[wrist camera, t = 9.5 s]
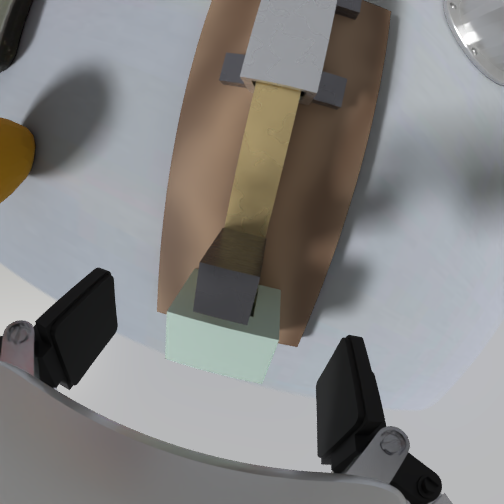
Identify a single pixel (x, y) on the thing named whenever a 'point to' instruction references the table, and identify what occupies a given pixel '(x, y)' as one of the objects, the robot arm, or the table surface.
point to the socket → (224, 335)
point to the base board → (294, 169)
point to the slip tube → (248, 209)
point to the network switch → (11, 28)
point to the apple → (14, 156)
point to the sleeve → (292, 50)
